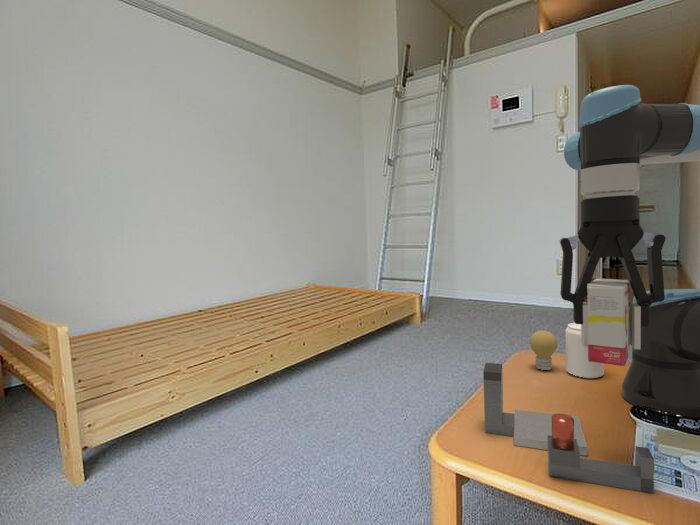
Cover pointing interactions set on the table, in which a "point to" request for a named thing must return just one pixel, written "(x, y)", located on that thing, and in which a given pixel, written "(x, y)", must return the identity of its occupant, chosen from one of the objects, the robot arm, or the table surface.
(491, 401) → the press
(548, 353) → the light bulb
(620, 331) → the ink box
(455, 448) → the table surface
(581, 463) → the rail
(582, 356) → the beverage can
